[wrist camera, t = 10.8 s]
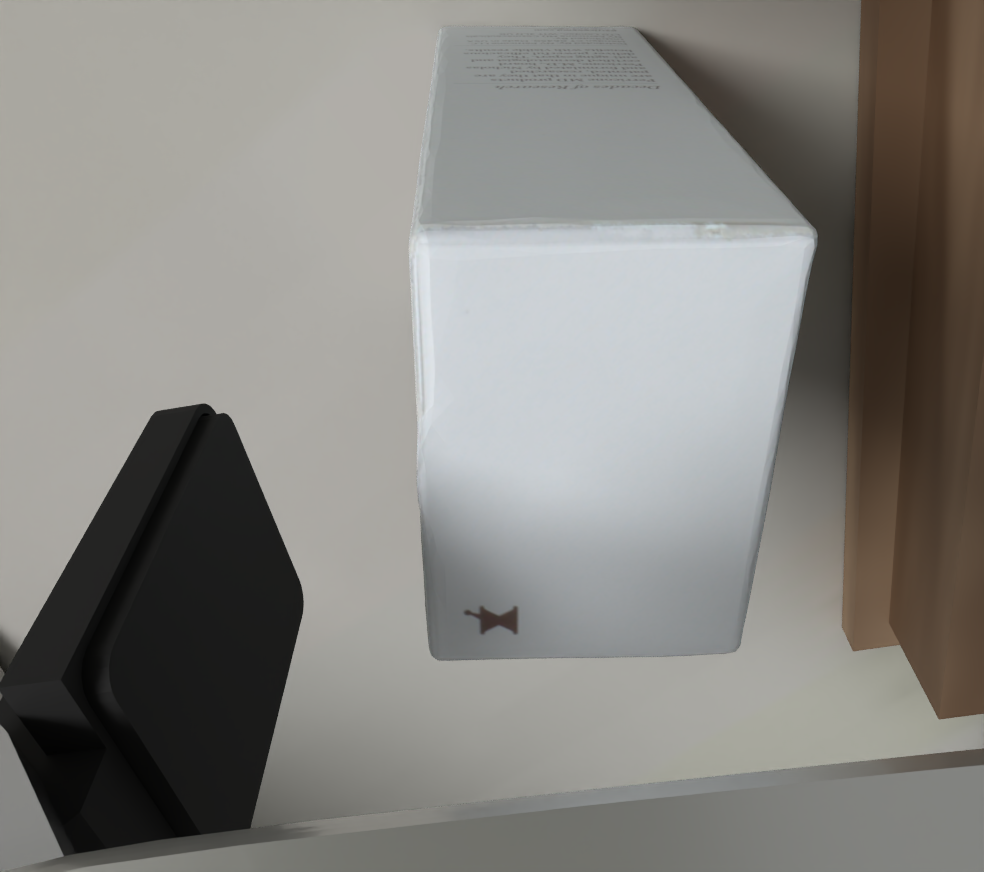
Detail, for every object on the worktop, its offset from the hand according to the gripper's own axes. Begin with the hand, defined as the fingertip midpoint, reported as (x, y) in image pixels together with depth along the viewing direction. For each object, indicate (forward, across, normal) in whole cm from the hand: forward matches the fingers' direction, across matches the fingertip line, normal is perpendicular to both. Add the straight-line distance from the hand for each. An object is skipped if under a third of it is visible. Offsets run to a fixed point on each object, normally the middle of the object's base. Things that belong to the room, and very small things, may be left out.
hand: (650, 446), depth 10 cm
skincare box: (+12, +1, 0) cm, 12 cm away
